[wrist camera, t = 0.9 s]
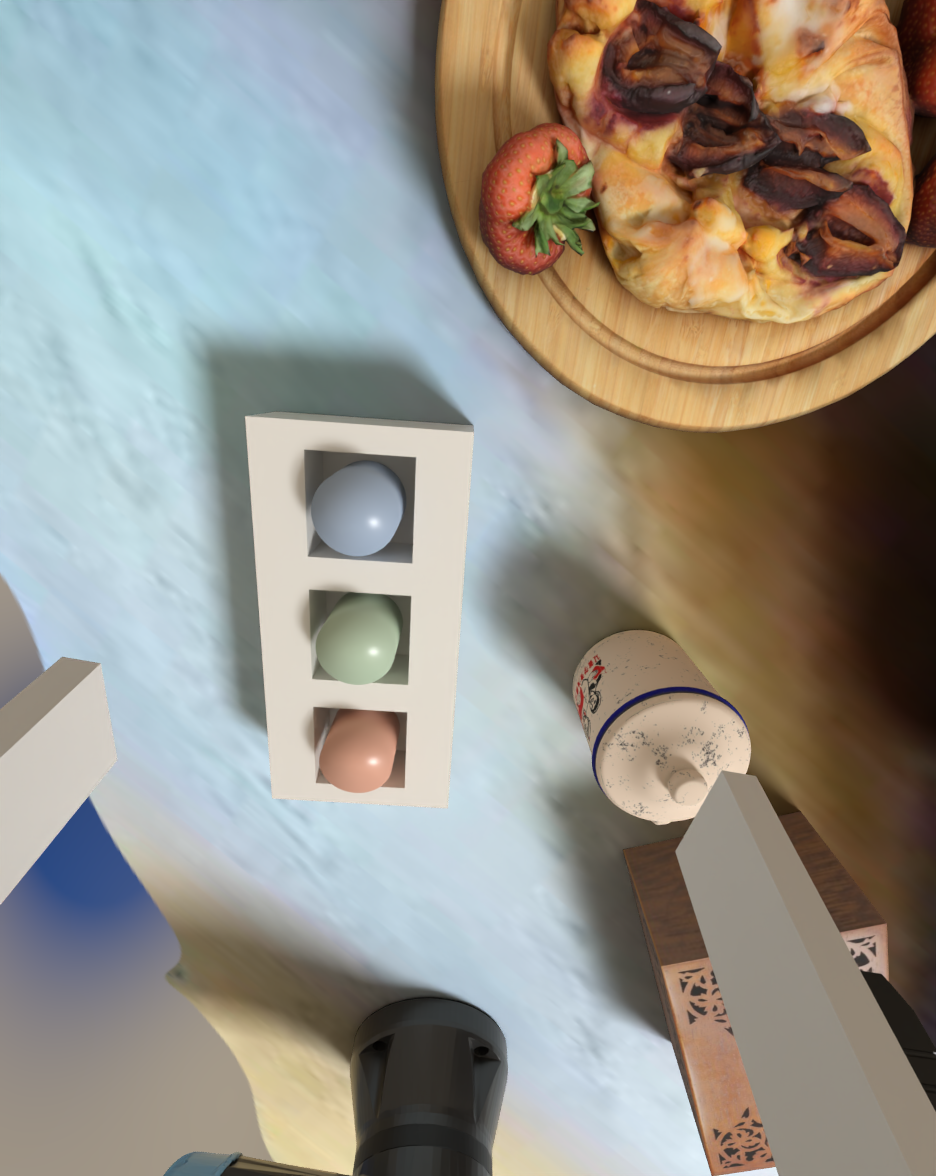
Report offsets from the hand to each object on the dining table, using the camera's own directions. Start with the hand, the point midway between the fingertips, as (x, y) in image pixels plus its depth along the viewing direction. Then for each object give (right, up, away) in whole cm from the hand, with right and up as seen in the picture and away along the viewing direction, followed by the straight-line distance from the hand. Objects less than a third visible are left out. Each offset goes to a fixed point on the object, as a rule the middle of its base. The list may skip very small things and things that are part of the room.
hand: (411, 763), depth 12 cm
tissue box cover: (+25, -27, +38) cm, 53 cm away
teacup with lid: (+13, -4, +29) cm, 32 cm away
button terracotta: (-6, -6, +26) cm, 28 cm away
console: (-5, +2, +26) cm, 27 cm away
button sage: (-5, +2, +24) cm, 24 cm away
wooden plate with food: (+16, +29, +17) cm, 37 cm away
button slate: (-5, +9, +21) cm, 23 cm away
